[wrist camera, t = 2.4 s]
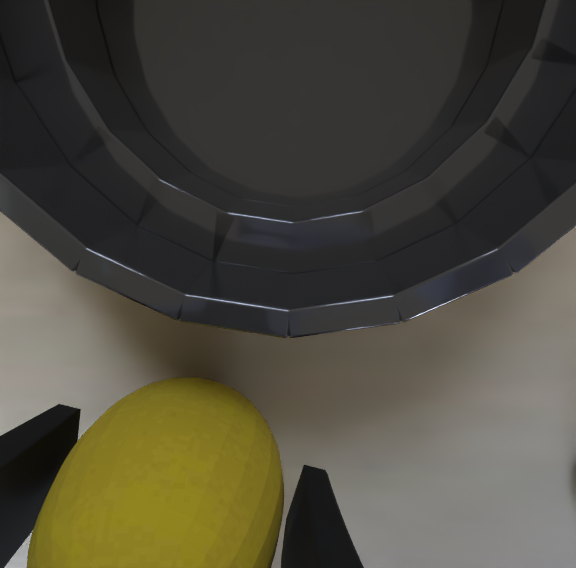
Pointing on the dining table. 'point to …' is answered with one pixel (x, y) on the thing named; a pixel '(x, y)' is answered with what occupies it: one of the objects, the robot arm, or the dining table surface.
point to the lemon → (166, 485)
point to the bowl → (289, 151)
